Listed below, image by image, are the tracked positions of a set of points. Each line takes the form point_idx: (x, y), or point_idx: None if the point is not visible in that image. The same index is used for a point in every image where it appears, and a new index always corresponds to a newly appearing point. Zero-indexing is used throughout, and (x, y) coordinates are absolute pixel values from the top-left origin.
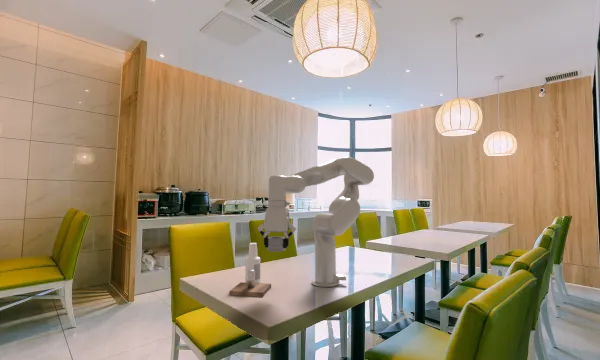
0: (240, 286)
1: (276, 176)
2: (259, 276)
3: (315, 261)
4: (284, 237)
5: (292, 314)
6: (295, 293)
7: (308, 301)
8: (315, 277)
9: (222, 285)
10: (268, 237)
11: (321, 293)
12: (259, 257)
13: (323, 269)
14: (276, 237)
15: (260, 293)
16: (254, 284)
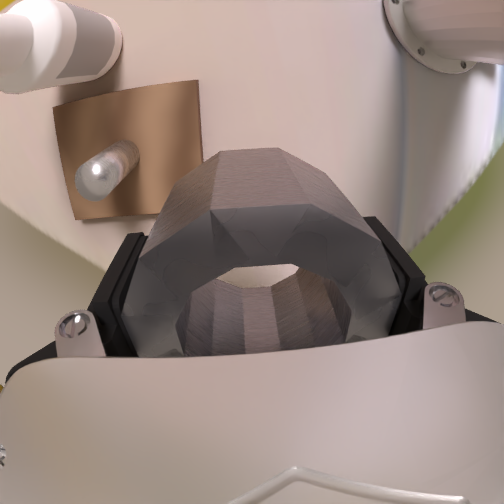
0: (79, 159)
1: None
2: (109, 43)
3: (467, 14)
4: (386, 282)
5: None
6: (332, 147)
7: None
8: (416, 19)
9: (5, 127)
10: (139, 339)
11: (425, 141)
12: (50, 15)
13: (479, 58)
14: (238, 261)
15: None
16: (135, 159)
